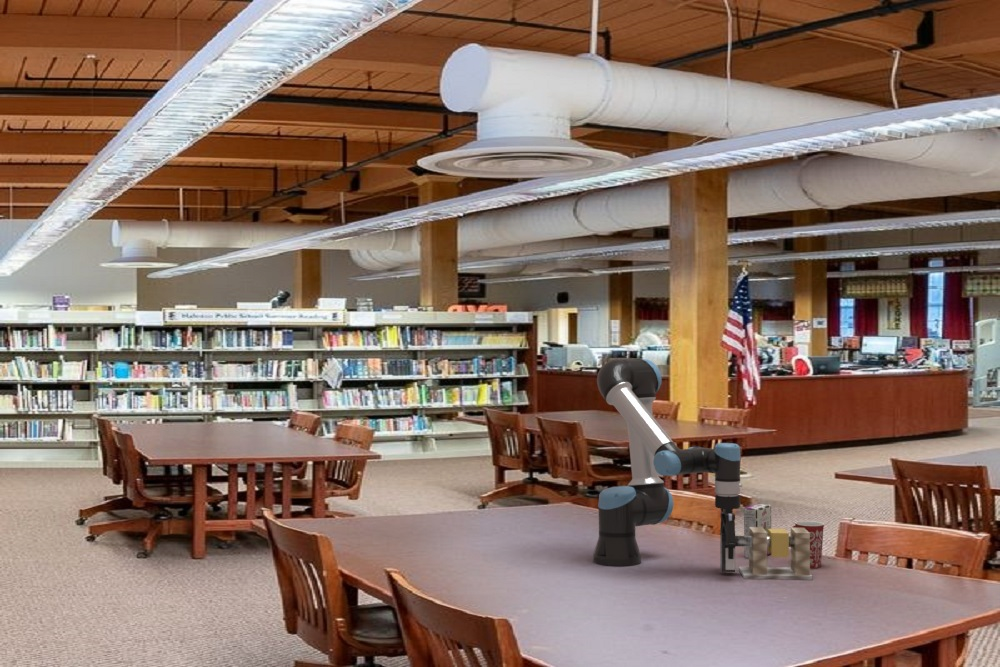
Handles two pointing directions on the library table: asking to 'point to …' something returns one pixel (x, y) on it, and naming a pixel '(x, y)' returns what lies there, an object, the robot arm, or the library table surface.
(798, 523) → the mug
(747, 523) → the candy bar box
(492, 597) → the library table surface
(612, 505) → the robot arm
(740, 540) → the shaft
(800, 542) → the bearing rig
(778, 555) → the spacer
